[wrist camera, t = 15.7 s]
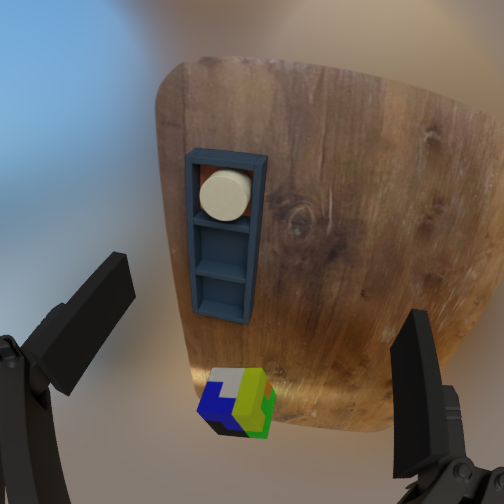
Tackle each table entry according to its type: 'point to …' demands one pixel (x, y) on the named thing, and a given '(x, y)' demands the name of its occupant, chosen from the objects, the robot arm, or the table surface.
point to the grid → (223, 238)
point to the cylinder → (226, 193)
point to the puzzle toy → (238, 402)
